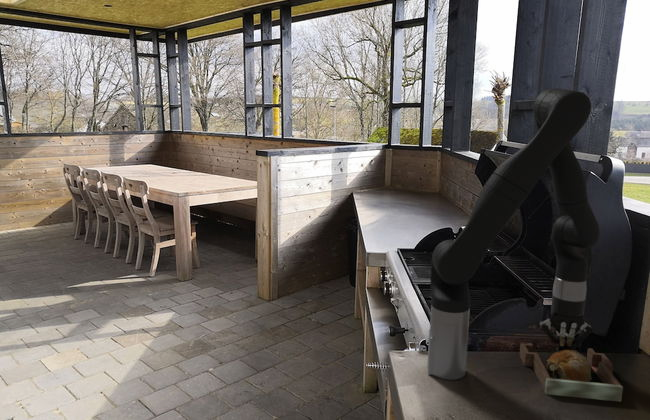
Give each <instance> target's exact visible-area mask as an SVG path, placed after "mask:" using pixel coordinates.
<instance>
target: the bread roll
mask: <svg viewBox="0 0 650 420" xmlns="http://www.w3.org/2000/svg"><path fill="white" fill-rule="evenodd" d="M545 362H546V371H547V372H548V374H549V375H550V376H552V377H553V378H554V379H561V380H572V381H582V382H591V381H592V380H593V379H592V378H593V377H592V373H591V368H592V367H591V366H590V364H589V362H588V360H587V356H585V355H583V354H582V353H580V352H578V351H577V350H576V349H573V350H572V349H570V350H561V351H558V352H553V353H552V354H551V355H550V356H549V358H548V359H547V360H546V361H545Z"/></svg>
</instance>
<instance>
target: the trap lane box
mask: <svg viewBox="0 0 650 420" xmlns="http://www.w3.org/2000/svg"><path fill="white" fill-rule="evenodd" d="M519 345H520V346H519V357H520V360H521V363H522V364H523V366H524V367H529V368H530V367H532V368H533V371H534V373H535V375H536V376H537V378H538V381H539V383H540V385H541V388H542V389H543V391H544V393H545V395H549V396H560V397H571V398H579V399H580V398H581V399H588V400H590V399H591V400H600V401H609V402H621V403H622V397H623V391H624V386H623V385H621V383H620V382H619V381H618V379H617V378H616V377H615V376H614V374H613V369H614V364H613V363H612V362H611V360H610V359H609V358H608V356H606V354H605V353H602V352H601V353H600V352H595V351H594V349H593V348H589V347H588V348H587V353H586V354H587V355H586V359H587V360H588V362H589V365H590V368H592V370H593V372H594V373H595V374H596V376H597V377H598V378H599V380H600V381H601V382H602V383H601V382H593V381H592V382H591V381H588V382H582V381H572V380H561V379H556V378H552V377H550V376H551V375H550V373H549V372H548V371H547V368H546V367H545V365H544V363H543V362H542V359H541V358H540V355H539V354H538V353H537V352H533V351H534V344H533V343H530V342H528V343H523V342H522V343H521V342H520V344H519Z"/></svg>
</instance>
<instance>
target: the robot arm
mask: <svg viewBox="0 0 650 420" xmlns="http://www.w3.org/2000/svg"><path fill="white" fill-rule="evenodd" d="M591 102H592V101H591V99H590V97H589V95H587V94H586V93H584V92H582V91H579V90H574V89H566V88H547V89H546V90H543V91H542V92H541V93H539V94H538V96H537V97H536V99H535V100H534V103H533V108H532V109H533V111H532V112H533V119H534V121H535V124H536V127H537V130H538V131H537V133H535V134H534V137H533V138H532V139H531V140H530V141H529V142H528V143H527V144H525V145H524V146H523V147H522V148H521V149H519V150H518V151H516V152H515V153H513V154H512V155H510V156H509V157H508V158H507V159H506V160H503V162H502V163H500V164H499V165H498V166H497V167H496V169H495V170H494V171H493V172H492V174H491V176H490V177H489V178H488V180H486V182H485V184H484V185H483V187H482V189H480V190H481V191H480V193H479V194H478V197H477V199H476V201H475V203H474V206H473V209H472V211H471V214H470V217H469V219H468V221H467V223H466V225H465V227H464V228H463V229H462V230H461V232H460V233H459V235H458V236H457V237H456V238H455V239H446V240H442V241H441V242H439V243H438V244H437V245H436V247H435V248H434V249H433V251H432V254H431V255H432V256H431V265H430V294H431V296H430V297H431V304H430V305H431V306H430V320H429V321H430V322H429V331H428V345H427V346H428V347H427V348H428V349H427V350H428V351H427V354H428V355H427V374H428V375H430V376H435V377H436V378H438V379H439V378H440V379H443V380H450V381H451V380H460V379H462V378H464V377H465V375H466V369H467V355H468V354H467V353H468V341H469V324H470V311H471V296H470V290H469V280H470V279H471V278H473V276H474V274H475V273H476V271H477V269H478V268H479V266H480V264H481V262H482V261H483V259H484V257H485V256H486V253H487V252H488V251H489V249H490V247H491V245H492V244H493V242H494V241H495V239H497V237H498V236H499V234H500V233H501V232H502V230H503V229H504V228H505V226H507V224H508V223H509V221H510V220H511V219H512V217H513V216H514V215H515V214H516V212H517V211H518V210H519V208H521V206H522V204H523V203H524V201H526V199H527V197H529V195H530V193H531V192H532V190H533V189H534V187H535V186H536V184H537V183H538V181H540V178H541V177H542V176H543V175H544V174H545V173H546V171H547V170H548V169H550V171H549V172H550V174H551V180H552V187H553V195H554V201H555V206H556V209H557V211H559V212H560V213H561V214H563V215H562V216H560V217H558V218H557V219H556V220H555V221H554V223H553V226H552V229H551V237H552V238H551V239H552V243H553V248H554V251H555V252H554V253H555V259H556V267H555V277H554V282H553V287H552V296H551V297H552V298H551V308H550V314H549V315H548V317H547V318H548V319H546V320H540V321H539V325H540V327H541V329H542V330H543V331H544V332H545V334H546V335H547V337H548V338H549V339H550V341H551V342H552V343H553V344H556V352H558V351H561V350H571V347H572V346H573V345H575V346H578V345H580V343H582V342H583V341H584V340H585V339H586V338H587V337H588V336H589V335H590V334H592V333H593V331H594V329H593V327H592V326H591V325H590V324H589V323H587V322H586V320H585V319H586V318H585V317H584V315H585V307H586V297H587V278H588V270H589V261H588V259H587V258H586V257H585V256H584V255H582V254H580V253H579V252H577V251H576V250H575V248H580V249H591V248H593V247H594V246H596V245H597V243H598V242H599V239H600V235H601V228H600V225H599V223H598V220H597V218H596V215H595V214H594V211H593V209H592V207H591V205H590V203H589V199H588V192H587V191H588V190H587V182H586V177H585V174H584V172H583V168H582V167H581V165H580V162H579V161H578V159H577V157H576V154H575V152H574V150H573V147H572V145H571V141H572V140H573V139H574V137H575V136H576V135H577V134H579V132H580V131H581V130H582V128H583V127H584V125H585V124H586V123H587V121H588V119H589V117H590V115H591V112H592V103H591ZM574 247H575V248H574ZM551 325H552V326H551ZM552 327H553V328H554V330H556V336H555V334H554V333H552V331H551V329H552ZM556 352H555V353H556Z"/></svg>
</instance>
